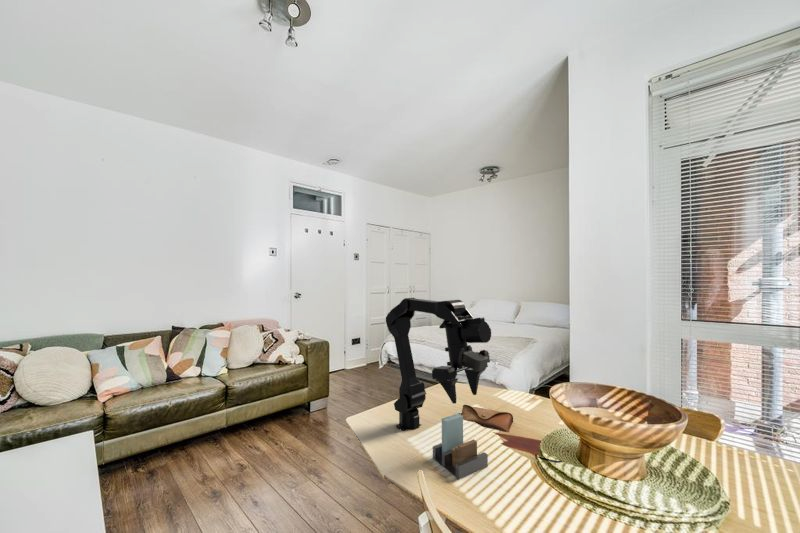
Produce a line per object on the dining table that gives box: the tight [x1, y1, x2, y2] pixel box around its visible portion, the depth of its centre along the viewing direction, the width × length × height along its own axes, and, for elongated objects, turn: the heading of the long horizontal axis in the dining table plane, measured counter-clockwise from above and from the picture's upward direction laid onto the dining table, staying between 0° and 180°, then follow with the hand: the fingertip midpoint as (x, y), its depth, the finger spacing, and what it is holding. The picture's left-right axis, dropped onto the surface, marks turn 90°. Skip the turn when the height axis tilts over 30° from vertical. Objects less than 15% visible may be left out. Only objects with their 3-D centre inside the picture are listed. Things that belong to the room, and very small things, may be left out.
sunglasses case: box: [460, 404, 514, 433], centre depth 112 cm, size 18×7×7 cm
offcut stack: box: [452, 439, 478, 469], centre depth 85 cm, size 4×6×6 cm, turn 121°
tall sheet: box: [441, 413, 464, 453], centre depth 89 cm, size 2×6×11 cm, turn 121°
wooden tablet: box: [492, 432, 543, 458], centre depth 97 cm, size 27×10×2 cm, turn 64°
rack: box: [432, 442, 489, 480], centre depth 87 cm, size 11×10×4 cm
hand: (464, 398), depth 91 cm, fingers open, 9 cm apart
